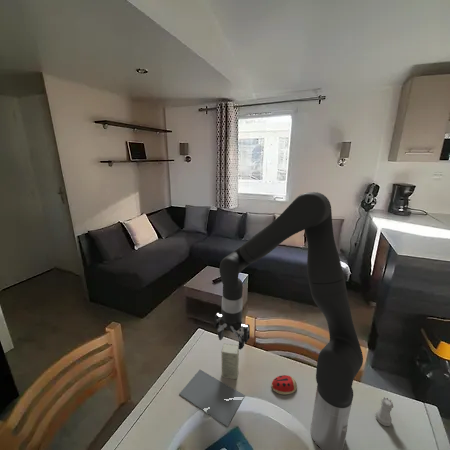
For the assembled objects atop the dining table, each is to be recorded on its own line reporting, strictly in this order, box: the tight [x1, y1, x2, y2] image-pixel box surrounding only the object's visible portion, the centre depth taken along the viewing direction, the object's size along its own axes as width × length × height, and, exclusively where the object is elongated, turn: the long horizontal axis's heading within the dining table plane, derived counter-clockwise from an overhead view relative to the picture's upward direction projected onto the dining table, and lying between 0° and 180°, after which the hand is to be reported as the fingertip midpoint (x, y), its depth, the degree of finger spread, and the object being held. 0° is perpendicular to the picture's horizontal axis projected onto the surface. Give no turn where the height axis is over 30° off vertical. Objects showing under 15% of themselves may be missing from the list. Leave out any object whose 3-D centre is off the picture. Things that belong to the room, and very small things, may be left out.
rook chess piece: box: [375, 396, 394, 427], centre depth 75 cm, size 4×4×8 cm
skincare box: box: [221, 343, 240, 380], centre depth 90 cm, size 6×4×12 cm
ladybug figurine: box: [270, 374, 298, 396], centre depth 87 cm, size 7×10×4 cm
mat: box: [178, 369, 246, 428], centre depth 83 cm, size 20×12×1 cm, turn 59°
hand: (230, 343), depth 88 cm, fingers open, 8 cm apart
